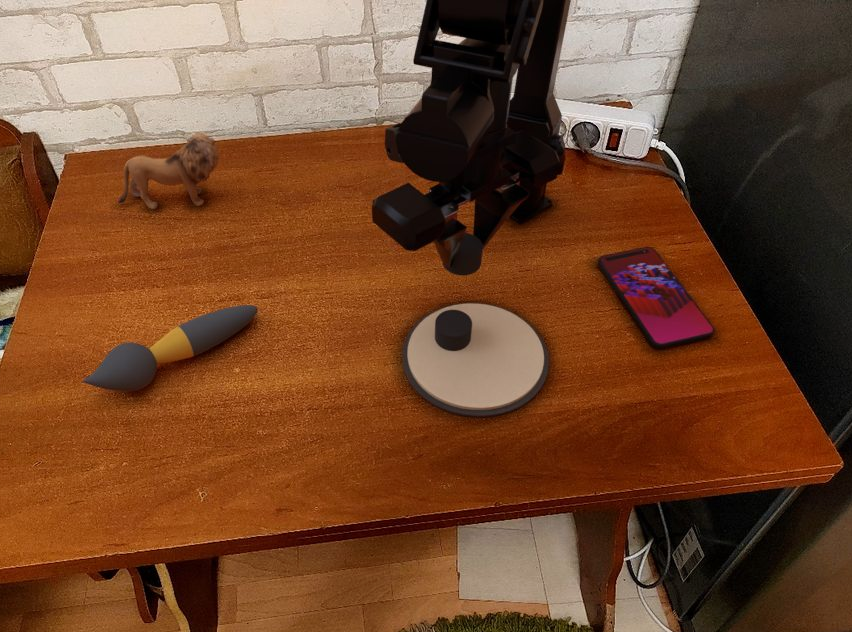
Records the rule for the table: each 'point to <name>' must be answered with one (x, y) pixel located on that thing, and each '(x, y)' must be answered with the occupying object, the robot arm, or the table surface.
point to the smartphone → (655, 298)
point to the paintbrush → (168, 349)
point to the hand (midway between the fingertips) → (463, 255)
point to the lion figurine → (173, 169)
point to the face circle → (477, 363)
